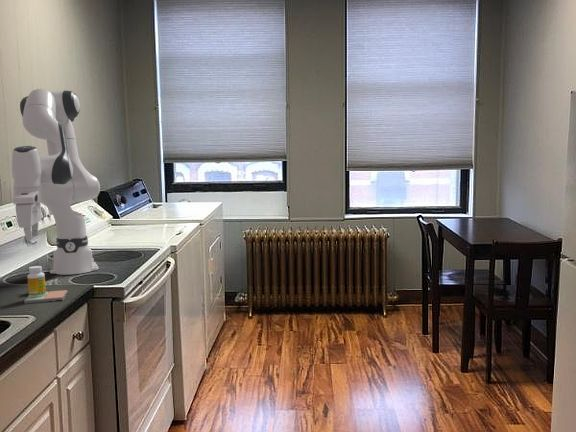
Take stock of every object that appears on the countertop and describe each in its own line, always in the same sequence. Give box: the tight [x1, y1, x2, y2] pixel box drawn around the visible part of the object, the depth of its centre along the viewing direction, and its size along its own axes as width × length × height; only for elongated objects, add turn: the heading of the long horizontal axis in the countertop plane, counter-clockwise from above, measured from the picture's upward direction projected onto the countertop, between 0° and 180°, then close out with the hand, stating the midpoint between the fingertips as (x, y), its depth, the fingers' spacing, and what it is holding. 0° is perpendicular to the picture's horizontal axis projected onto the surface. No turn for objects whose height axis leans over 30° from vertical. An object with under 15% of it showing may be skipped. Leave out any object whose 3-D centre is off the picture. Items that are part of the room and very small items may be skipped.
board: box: [23, 289, 69, 305], centre depth 209 cm, size 11×12×1 cm
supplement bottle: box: [26, 265, 47, 297], centre depth 208 cm, size 5×5×10 cm
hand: (32, 237), depth 206 cm, fingers open, 8 cm apart
